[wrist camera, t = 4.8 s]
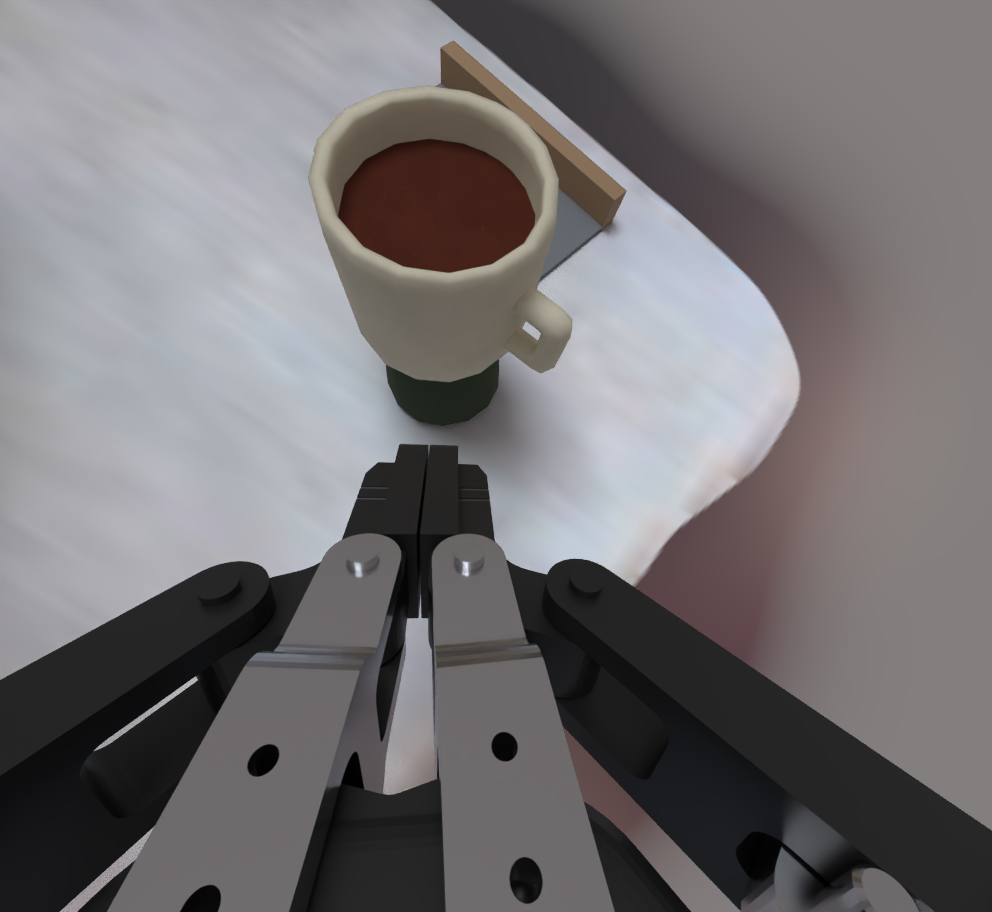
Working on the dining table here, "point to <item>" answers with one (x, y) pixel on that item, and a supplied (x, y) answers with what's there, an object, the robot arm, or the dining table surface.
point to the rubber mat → (582, 183)
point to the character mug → (441, 241)
